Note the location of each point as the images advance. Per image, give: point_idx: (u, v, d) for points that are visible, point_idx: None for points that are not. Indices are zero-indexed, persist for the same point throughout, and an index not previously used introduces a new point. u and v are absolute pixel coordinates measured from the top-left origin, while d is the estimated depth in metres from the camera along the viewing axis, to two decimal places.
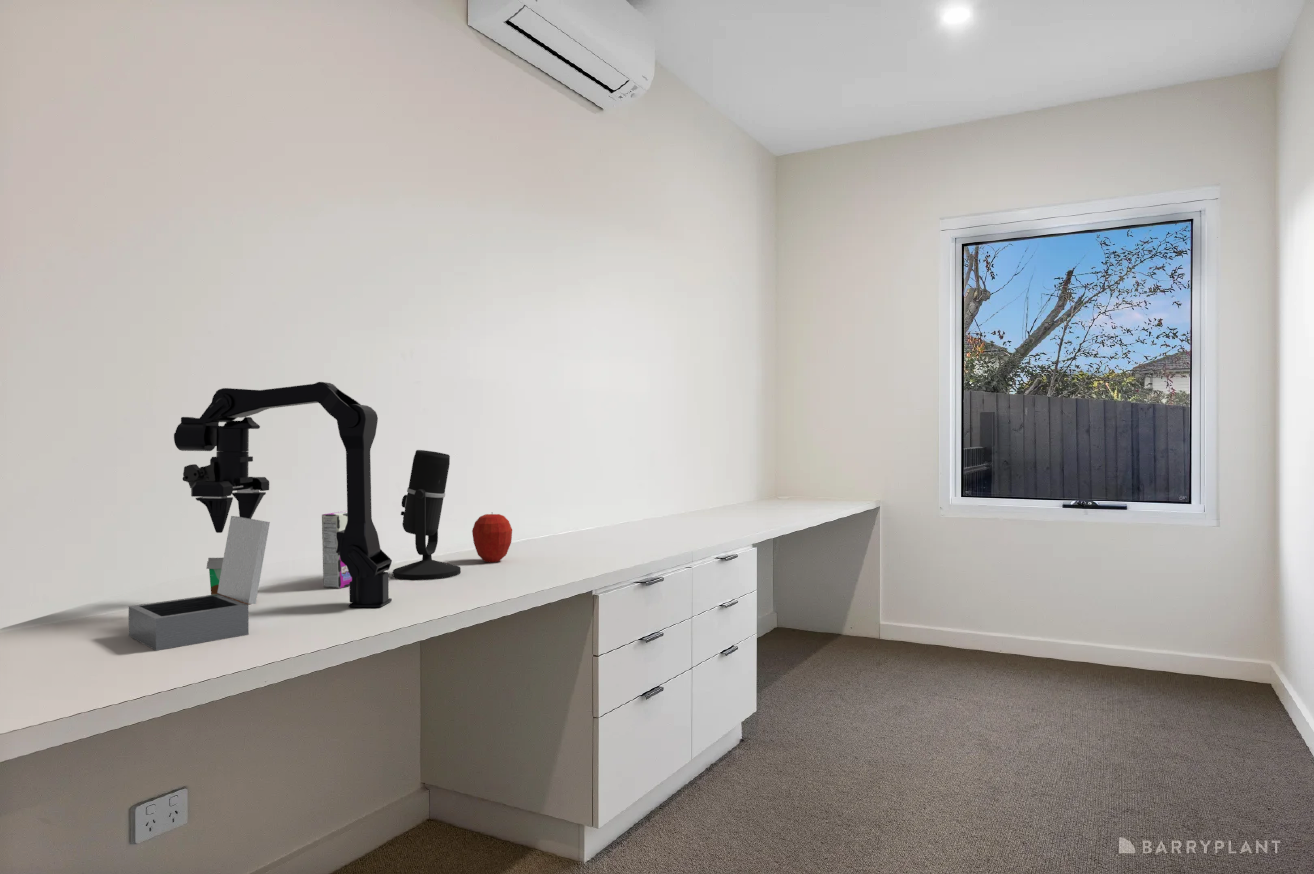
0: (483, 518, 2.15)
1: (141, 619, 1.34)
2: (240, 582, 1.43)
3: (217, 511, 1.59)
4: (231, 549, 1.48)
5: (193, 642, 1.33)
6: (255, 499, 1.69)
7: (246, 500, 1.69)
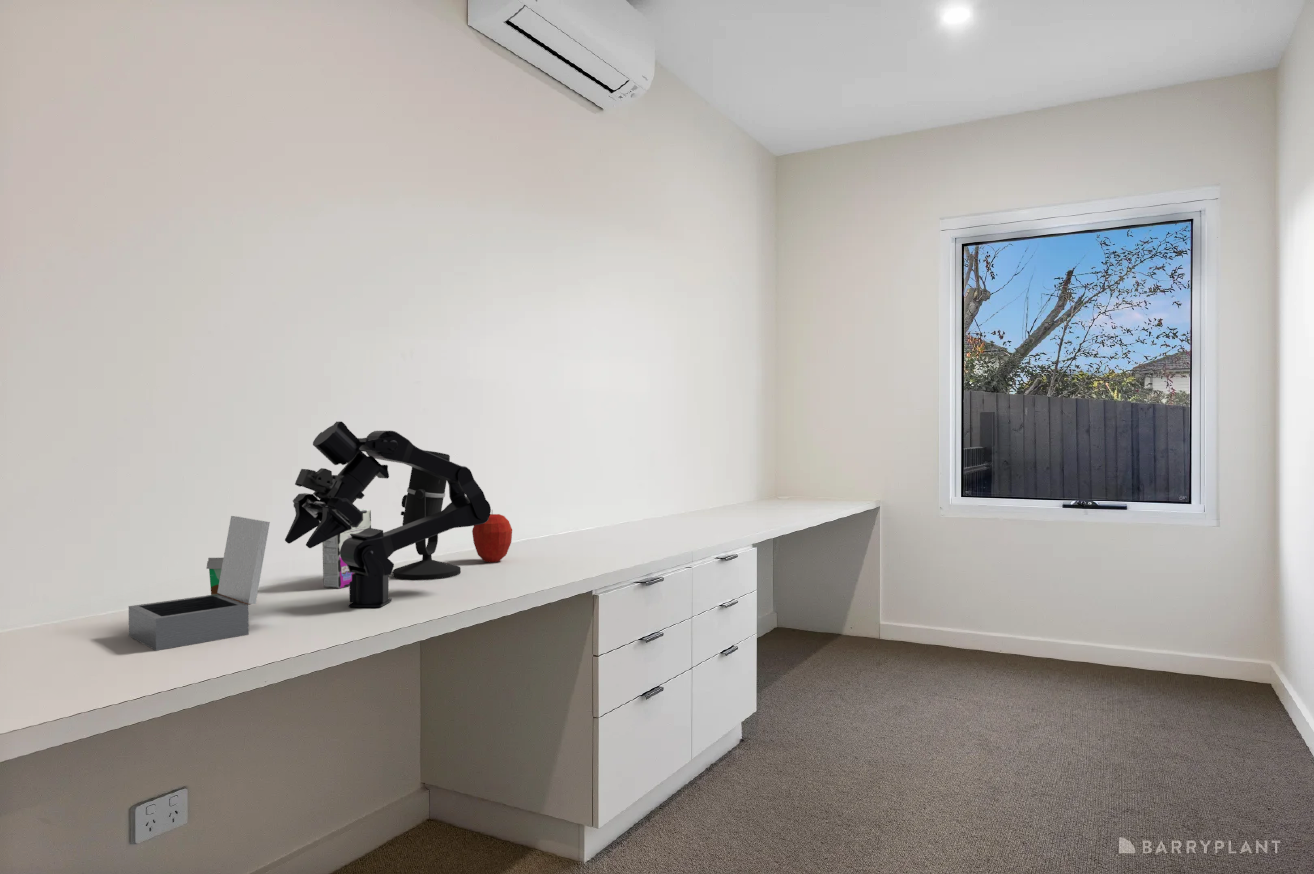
0: None
1: (141, 619, 1.34)
2: (240, 582, 1.43)
3: (327, 530, 1.52)
4: (231, 549, 1.48)
5: (193, 642, 1.33)
6: (313, 525, 1.61)
7: (306, 520, 1.59)
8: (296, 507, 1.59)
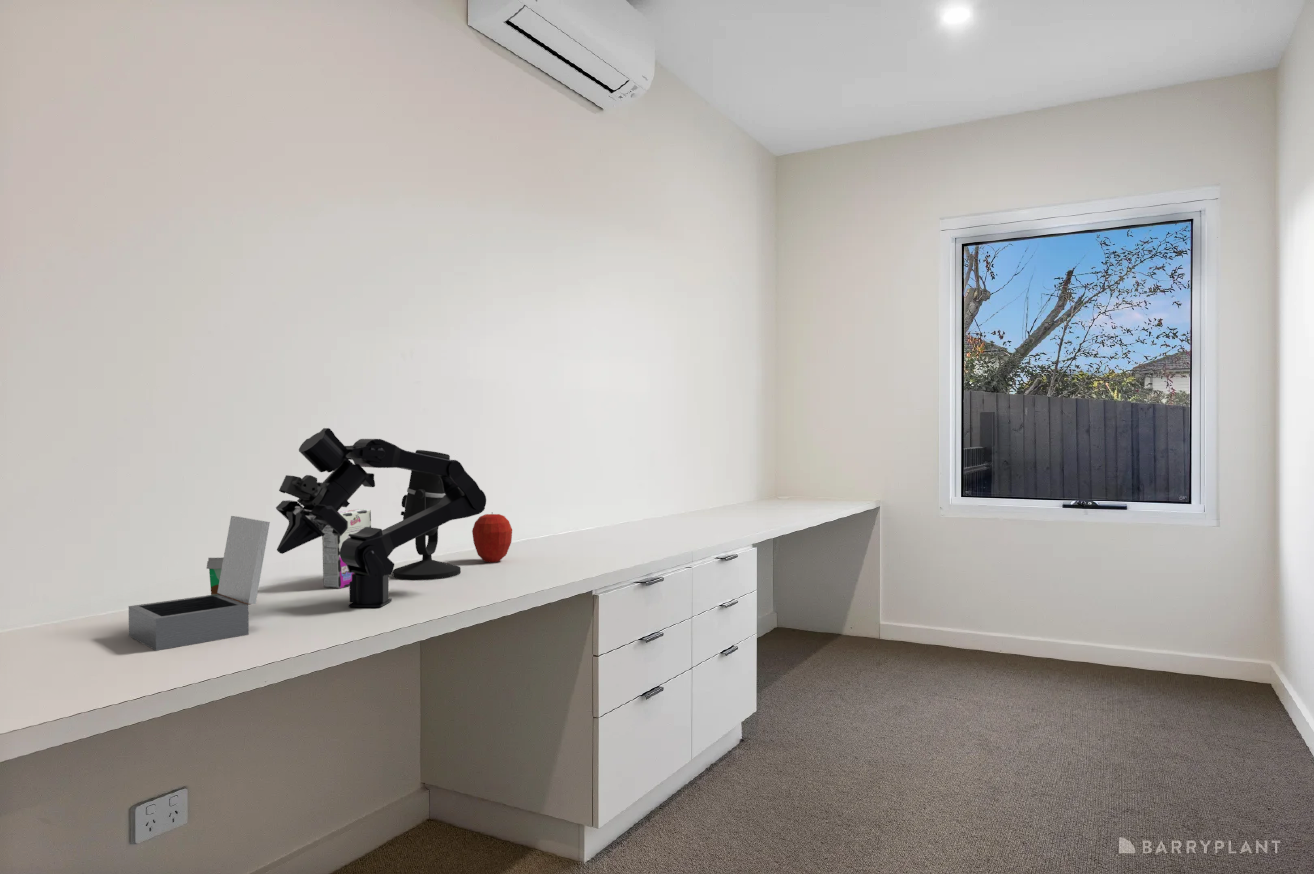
0: (483, 518, 2.15)
1: (141, 619, 1.34)
2: (240, 582, 1.43)
3: (299, 535, 1.52)
4: (231, 549, 1.48)
5: (193, 642, 1.33)
6: None
7: None
8: (289, 516, 1.54)
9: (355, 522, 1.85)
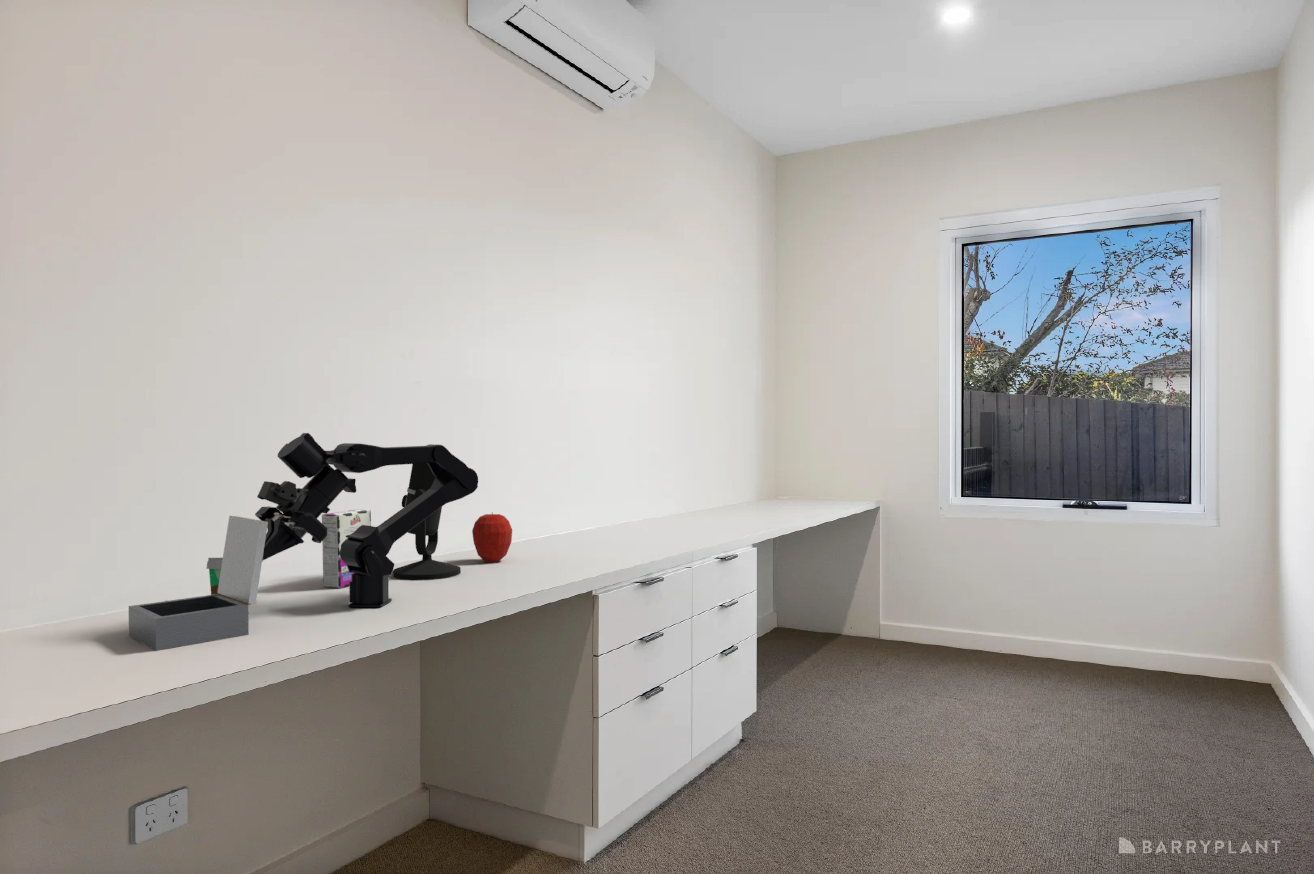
0: (483, 518, 2.15)
1: (141, 619, 1.34)
2: (240, 582, 1.43)
3: (278, 543, 1.49)
4: (230, 549, 1.48)
5: (193, 642, 1.33)
6: None
7: None
8: (268, 522, 1.51)
9: (355, 522, 1.85)
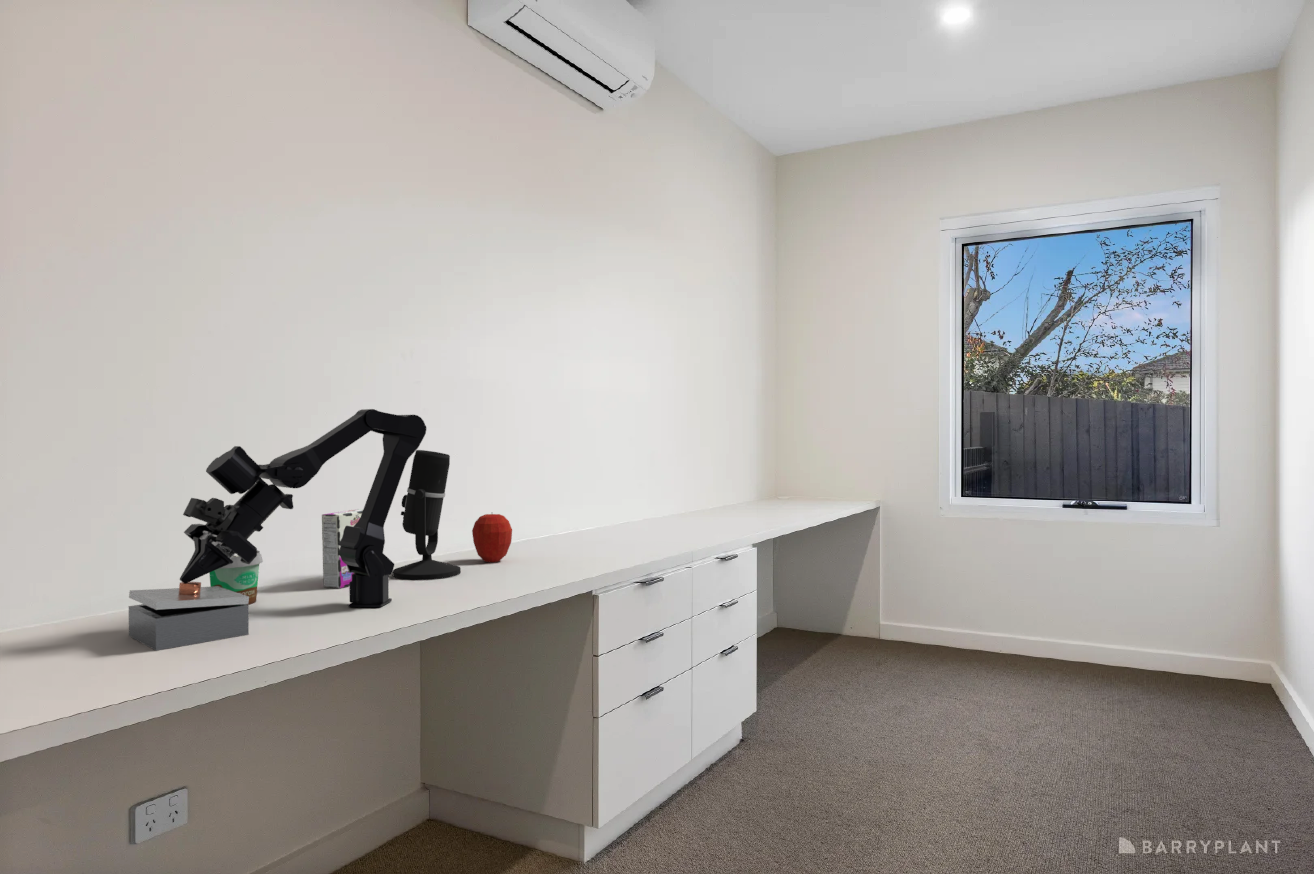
0: (483, 518, 2.15)
1: (141, 619, 1.34)
2: None
3: (205, 563, 1.40)
4: None
5: (193, 642, 1.33)
6: None
7: None
8: (195, 541, 1.42)
9: (355, 522, 1.85)
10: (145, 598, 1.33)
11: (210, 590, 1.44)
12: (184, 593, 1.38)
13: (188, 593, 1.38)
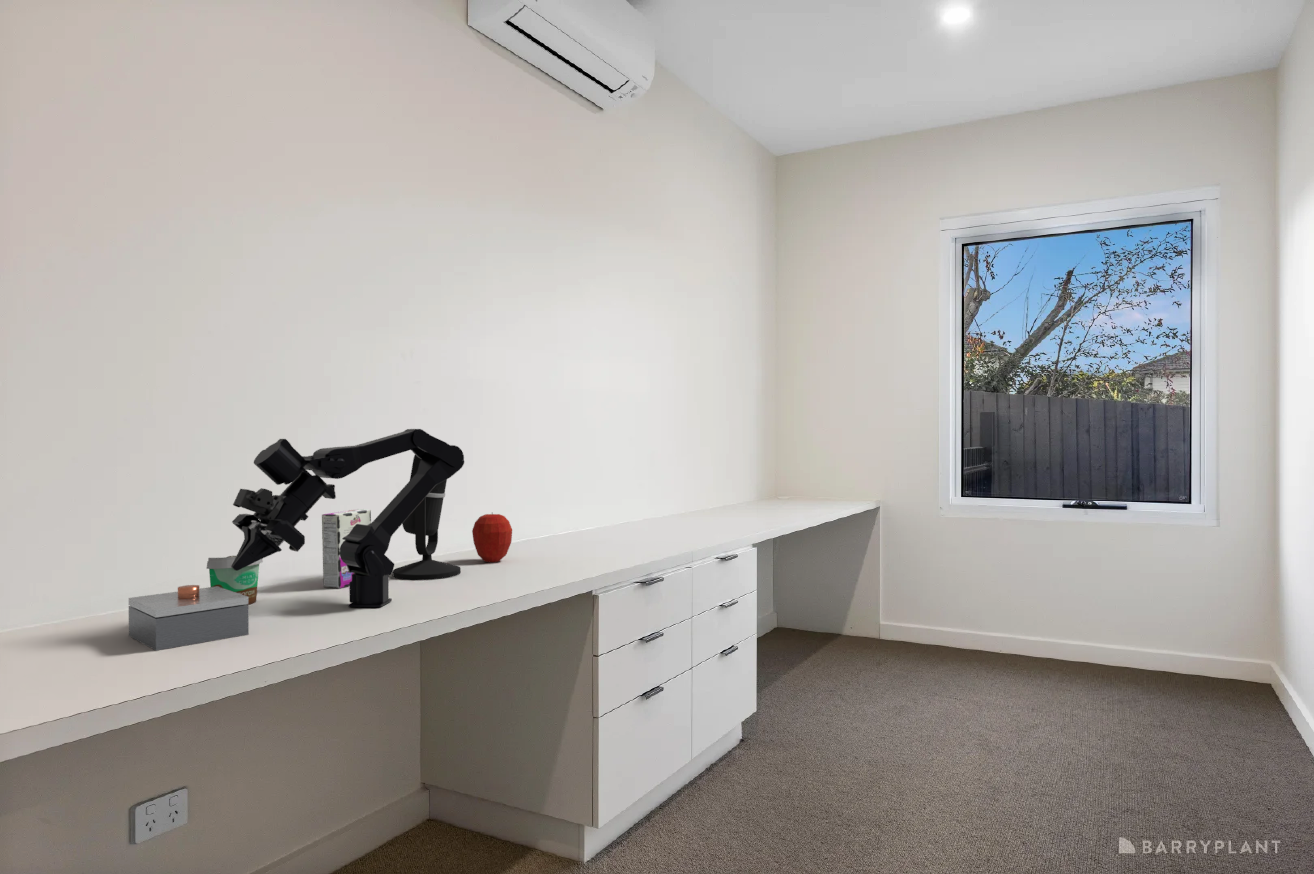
0: (483, 518, 2.15)
1: (141, 619, 1.34)
2: None
3: (255, 551, 1.46)
4: None
5: (193, 642, 1.33)
6: None
7: None
8: (245, 531, 1.48)
9: (355, 522, 1.85)
10: (144, 606, 1.33)
11: (209, 592, 1.44)
12: (183, 597, 1.38)
13: (187, 597, 1.38)
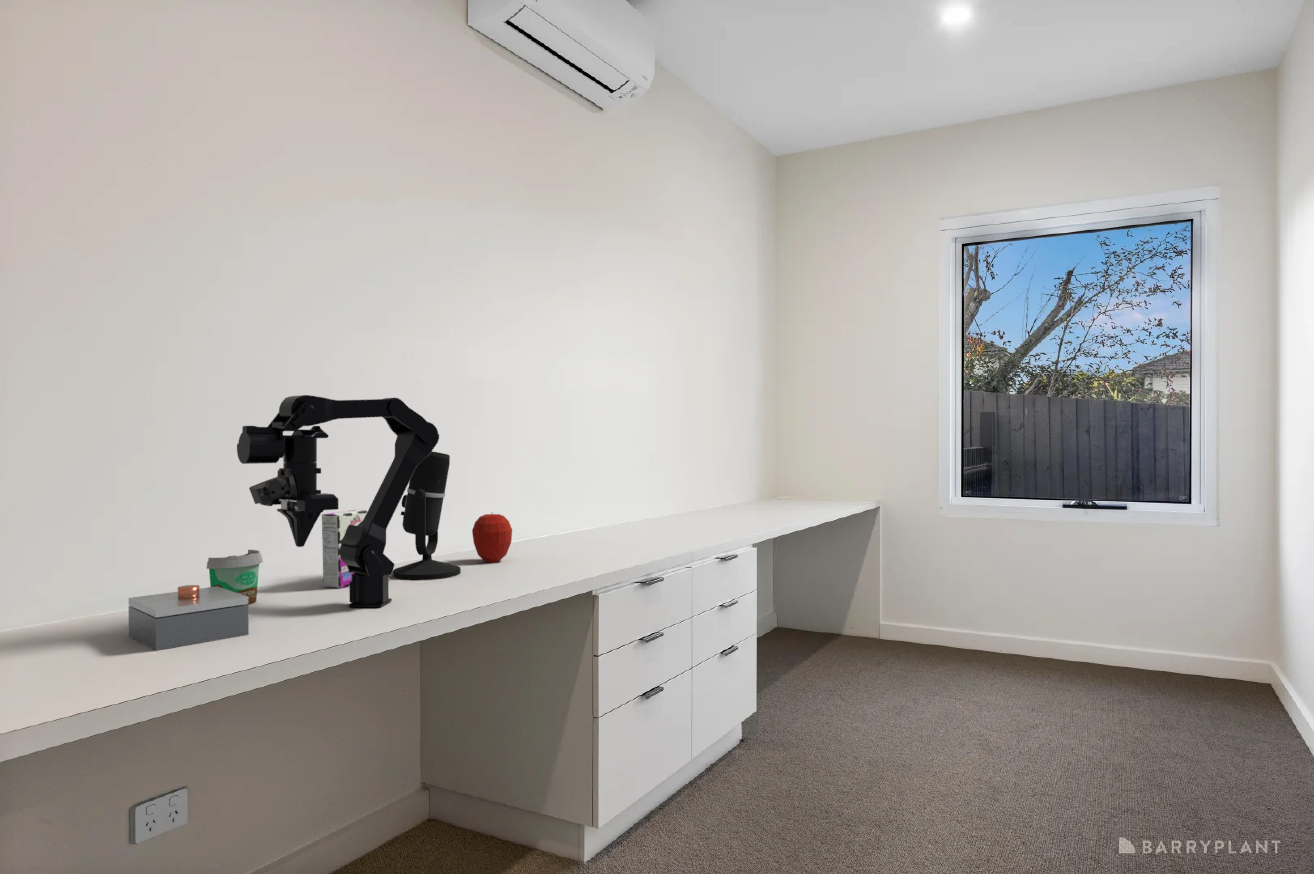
0: (483, 518, 2.15)
1: (141, 619, 1.34)
2: None
3: (304, 524, 1.53)
4: None
5: (193, 642, 1.33)
6: None
7: None
8: (282, 512, 1.53)
9: (356, 522, 1.85)
10: (144, 606, 1.33)
11: (209, 592, 1.44)
12: (183, 597, 1.38)
13: (187, 597, 1.38)
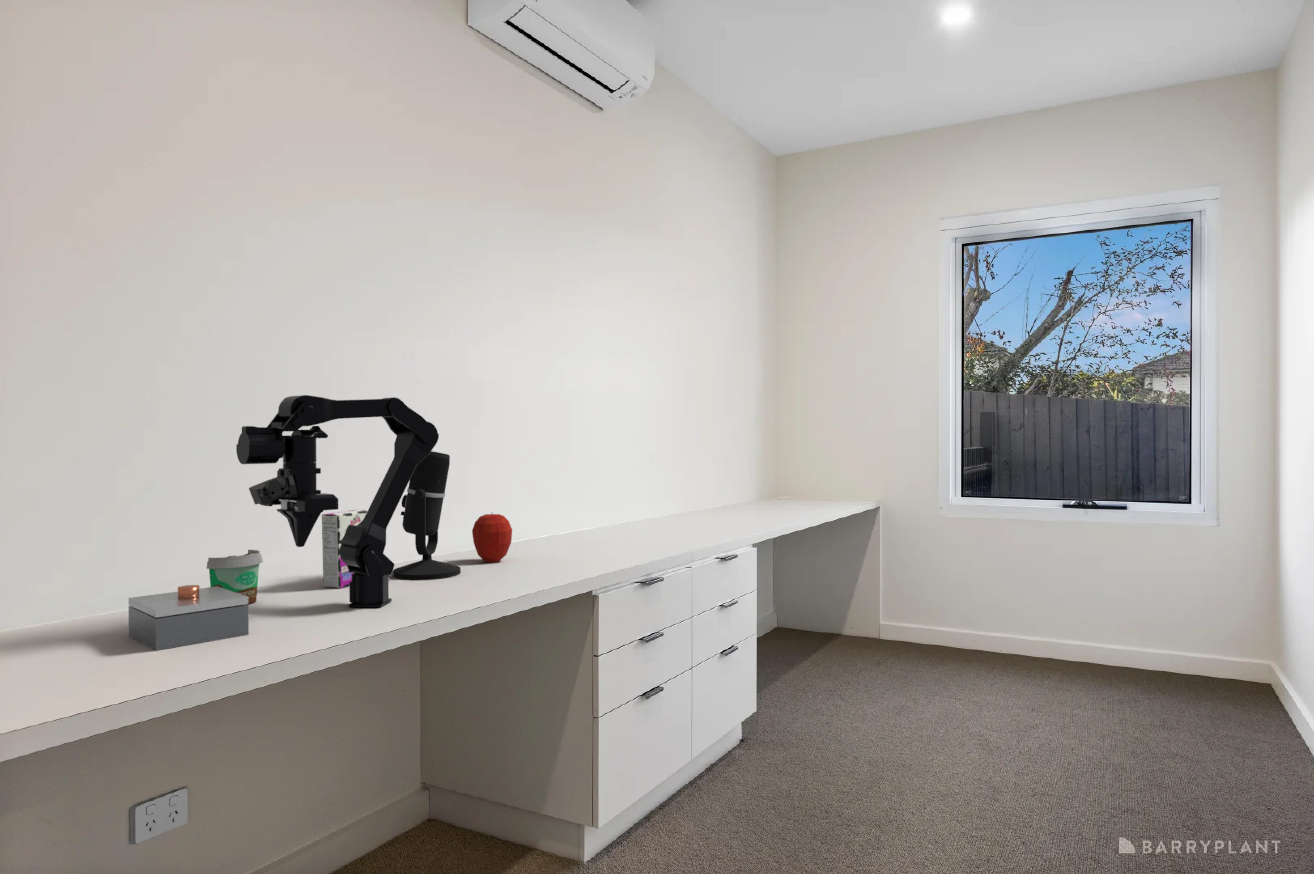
0: (483, 518, 2.15)
1: (141, 619, 1.34)
2: None
3: (304, 524, 1.53)
4: None
5: (193, 642, 1.33)
6: None
7: None
8: (282, 513, 1.53)
9: (355, 522, 1.85)
10: (144, 606, 1.33)
11: (209, 592, 1.44)
12: (183, 597, 1.38)
13: (187, 597, 1.38)
